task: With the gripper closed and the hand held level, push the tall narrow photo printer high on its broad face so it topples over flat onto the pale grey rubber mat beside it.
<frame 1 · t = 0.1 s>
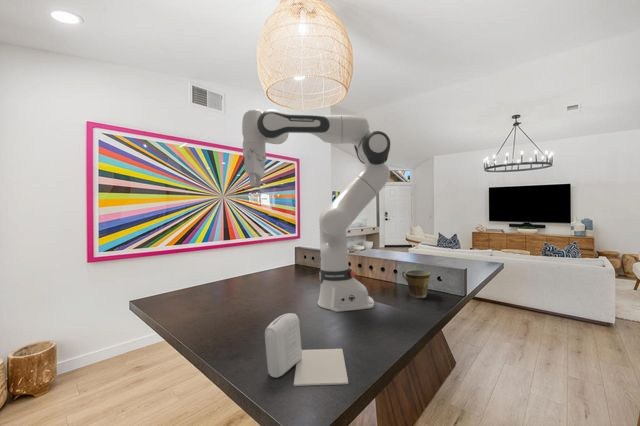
hand: (255, 186, 114), 48 cm above the table, fingers open, 8 cm apart
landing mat: (320, 366, 70), on the table
ceramic cup: (415, 295, 124), on the table
photo printer: (286, 366, 70), on the table, touching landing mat
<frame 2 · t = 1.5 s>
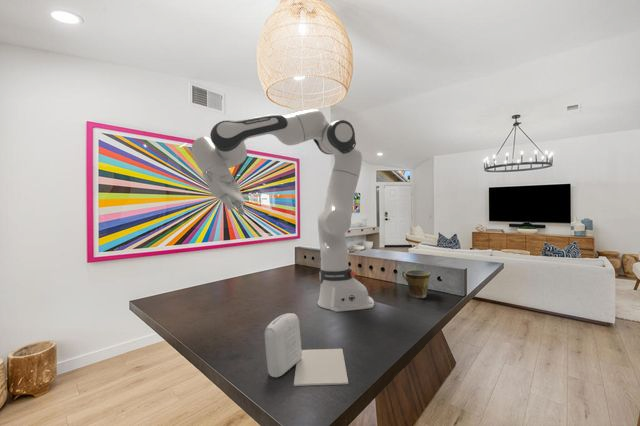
hand: (237, 211, 96), 38 cm above the table, fingers open, 8 cm apart
nothing on the table moved.
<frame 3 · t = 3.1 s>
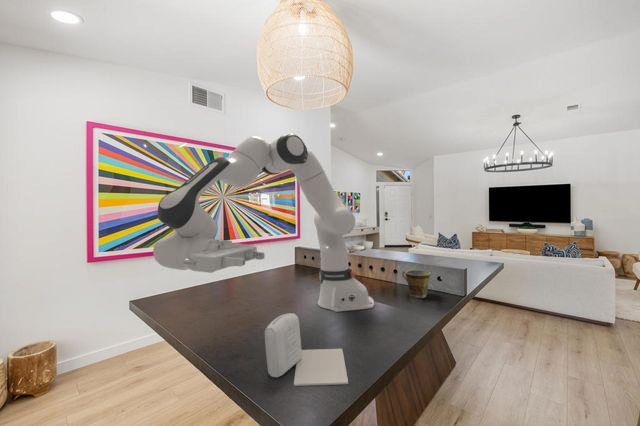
hand: (254, 258, 72), 27 cm above the table, fingers open, 8 cm apart
nothing on the table moved.
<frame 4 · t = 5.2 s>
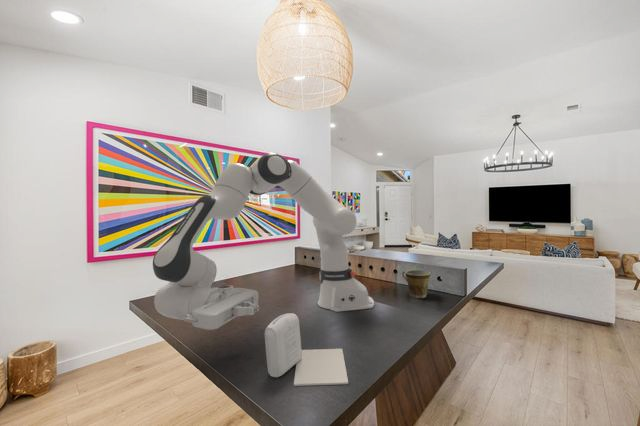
hand: (256, 309, 71), 14 cm above the table, fingers closed
nothing on the table moved.
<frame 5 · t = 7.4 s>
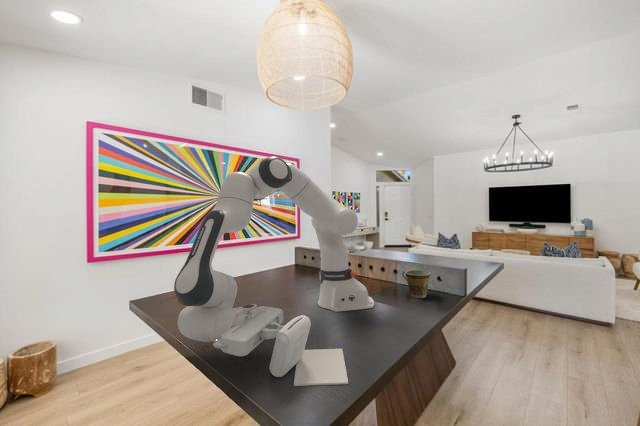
hand: (284, 332, 69), 9 cm above the table, fingers closed
photo printer: (286, 364, 70), point 1 cm above the table, touching gripper, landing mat
everything else where it was.
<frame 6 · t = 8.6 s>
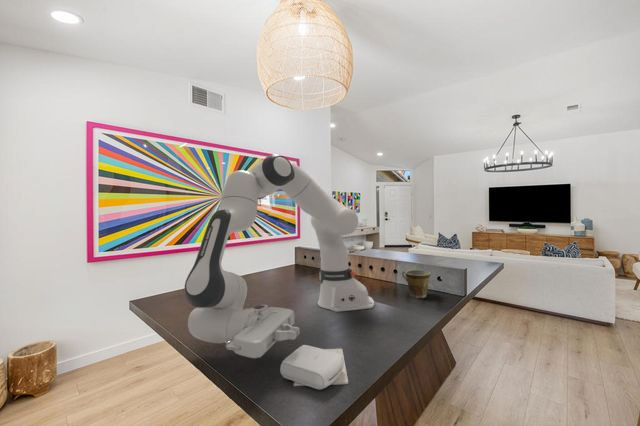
hand: (297, 333, 68), 9 cm above the table, fingers closed
photo printer: (292, 359, 69), point 3 cm above the table, touching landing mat
everything else where it was.
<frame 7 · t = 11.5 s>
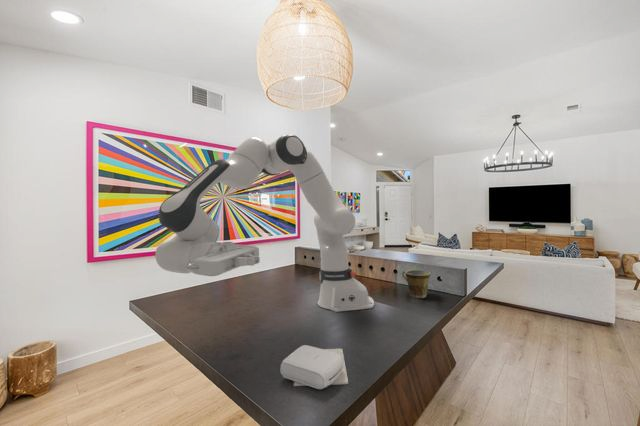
hand: (256, 260, 72), 26 cm above the table, fingers closed
nothing on the table moved.
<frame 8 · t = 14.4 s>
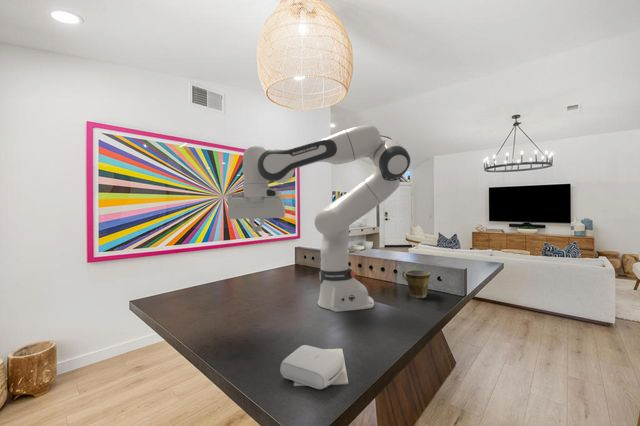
hand: (257, 231, 102), 31 cm above the table, fingers closed
nothing on the table moved.
at the end: photo printer tilted 90°; photo printer touching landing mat; photo printer inside the target area (0.6 cm from its centre), point 2.5 cm above the table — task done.
